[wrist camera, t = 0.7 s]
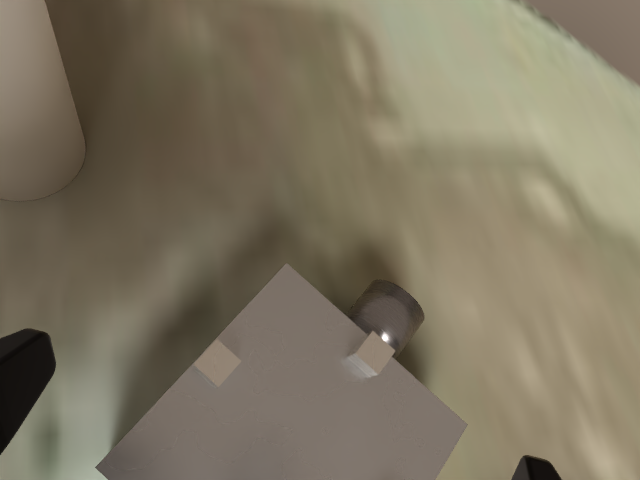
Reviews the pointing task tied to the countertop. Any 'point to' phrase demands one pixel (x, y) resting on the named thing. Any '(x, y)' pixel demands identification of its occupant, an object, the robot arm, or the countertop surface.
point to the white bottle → (34, 107)
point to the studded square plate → (297, 397)
